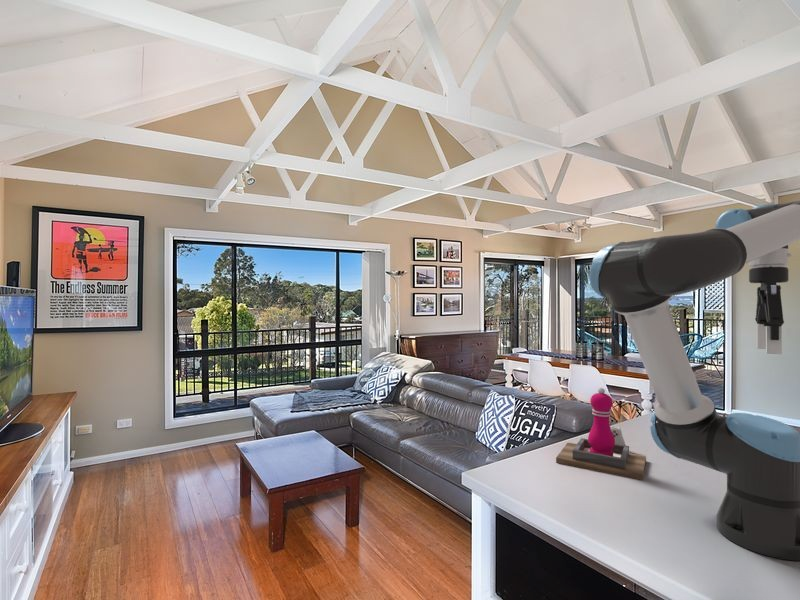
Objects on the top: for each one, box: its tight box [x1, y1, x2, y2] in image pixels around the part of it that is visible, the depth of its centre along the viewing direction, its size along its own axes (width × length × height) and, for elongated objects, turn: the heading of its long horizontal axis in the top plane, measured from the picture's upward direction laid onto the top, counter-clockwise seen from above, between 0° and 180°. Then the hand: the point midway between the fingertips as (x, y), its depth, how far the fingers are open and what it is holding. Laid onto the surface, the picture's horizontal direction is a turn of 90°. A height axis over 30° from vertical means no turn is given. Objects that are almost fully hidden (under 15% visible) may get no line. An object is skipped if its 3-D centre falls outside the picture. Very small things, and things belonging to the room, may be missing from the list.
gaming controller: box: [610, 426, 626, 445], centre depth 138 cm, size 10×4×7 cm, turn 33°
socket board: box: [555, 437, 647, 481], centre depth 125 cm, size 16×22×4 cm
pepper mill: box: [587, 387, 615, 456], centre depth 125 cm, size 7×7×20 cm
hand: (768, 351), depth 107 cm, fingers open, 13 cm apart
